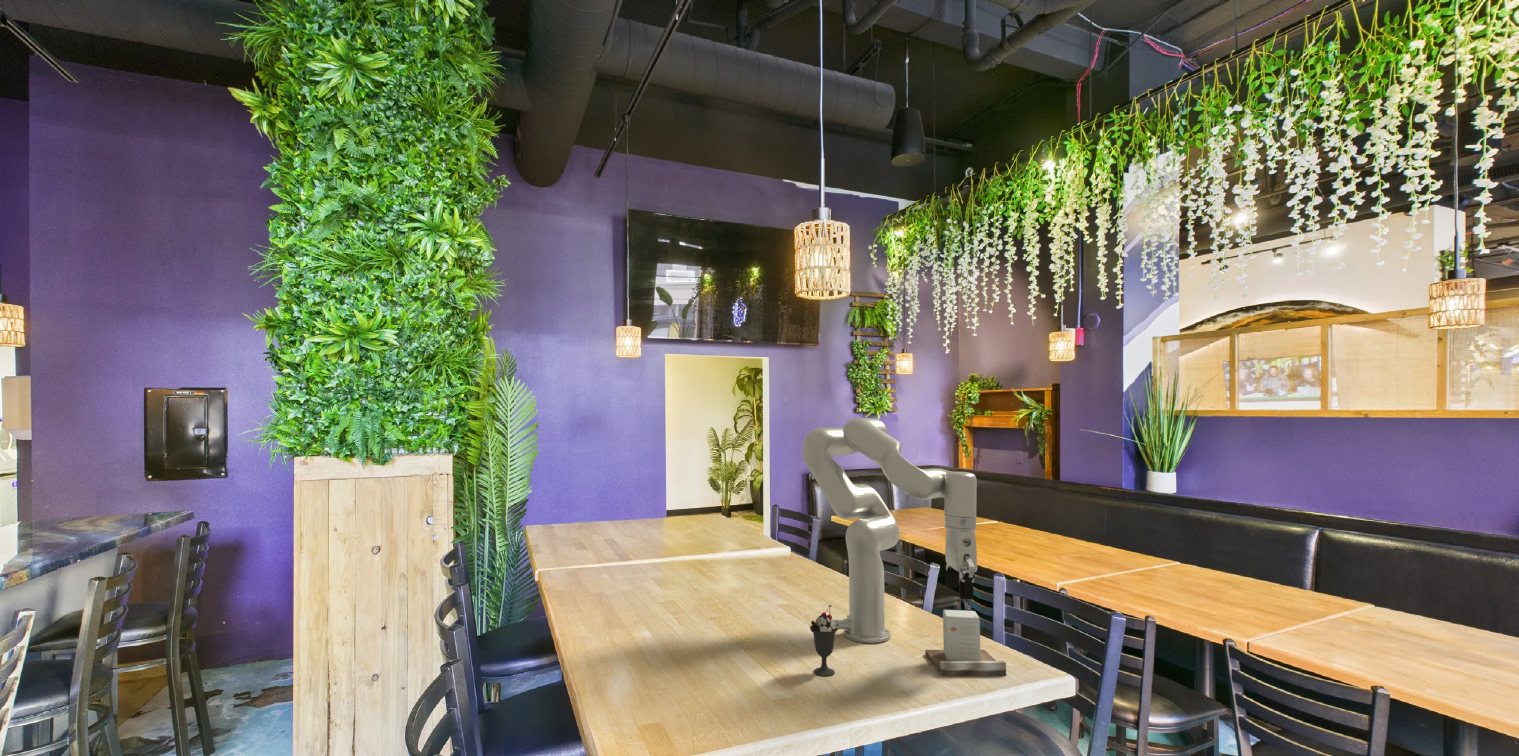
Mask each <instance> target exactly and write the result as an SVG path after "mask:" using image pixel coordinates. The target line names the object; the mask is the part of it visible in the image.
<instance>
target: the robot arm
mask: <svg viewBox="0 0 1519 756" xmlns="http://www.w3.org/2000/svg"><path fill="white" fill-rule="evenodd" d="M888 433H889V432H888V428H887V426H886V425H885V423H883V422H882V421H881V420H879V419H877V418H873V417H856V418H852V419H850V420H849V421H847V422H846V423H845V424H844V427H831V426H830V427H818V428H815V429H812V430H811V431H809V432H808V433H807V434H806V435H805V438H804V440H803V443H802V456H803V461H804V463H805V465H806V466H805V467H807V469H808V472H810V474H811V476H812V477H813V478H814V479H815V481H816V483H817V485H818V486H819V488H820V490H821V491H822V493H823V495H824V496H825V499H826V500H827V502H828V503H829V505H830V507H831V508H832V510H833V512H834V513H835V514H836V516H837V517H838V518H840V519H841V520H852V519H856V520H854V521H853V522H851V523H850V524H849V526H848V527H847V529H846V532H845V545H846V549H847V556H848V577H849V578H848V582H849V583H848V589H849V590H848V591H849V592H848V595H849V596H848V597H849V598H848V599H849V600H848V601H849V602H848V603H849V604H848V605H849V607H848V610H849V611H848V612H849V613H848V614H849V615H846V618H843V619H832V620H833V621H834V623H835V625H836V627H837V628H838V630H843V635H844V636H845V638H847V639H848V640H851V641H854V642H857V643H863V644H865V643H866V644H876V643H877V644H878V643H883V642H884V643H885V642H887V641H889V640H890V639H891V631H890V630H889V629H887V628H886V627H885V568H884V562H883V560H882V557H881V553H880V552H881V551H886V550H889V549H891V548H893V547H895V546H896V545H897V543H898V542H899V540H900V535H901V533H900V527H899V525H898V522H897V520H896V519H895V517H894V515H893V514H892V513H891V511H890V510H889V508H888V507H887V506H888V505H886V503H885V502H884V500H883V499H882V497H881V495H880V494H879V493H878V491H877V490H876V489H875V488H873V487H872V486H870V485H868V484H865V483H859V484H855V483H853V482H852V481H851V479H850V478H849V476H848V475H847V473H846V471H845V470H844V468H843V467H842V466H841V465H840V464H839V463H838V462H836V461H835V460H834V458H833V457H838V456H839V457H840V456H841V457H842V456H848V455H854V454H857V453H860V454H861V455H863V456H864V457H866V458H868V459H869V460H870V461H872V462H873V463H874V464H875V465H877V466H878V467H880V469H881V470H882V473H883V474H884V476H885V477H886V478H887V480H888V481H889V482H890V483H891V484H892V485H894V486H895V487H896V488H898V489H899V490H900V491H902V492H904V494H906V495H907V496H909V497H911V498H913V499H914V500H915V499H916V500H920V501H924V500H931V499H939V498H944V511H943V512H944V518H943V519H944V520H943V523H944V524H943V527H944V528H945V529H946V534H945V549H944V550H945V552H944V553H945V554H944V555H945V557H944V558H945V562H946V565H945V587H946V588H959V589H958V590H959V595H958V597H959V599H960V600H973V599H974V583H975V573H976V572H977V570H978V556H977V553H978V551H977V538H976V537H977V536H976V531H977V493H978V492H977V487H978V486H977V481H978V480H977V477H976V474H974V473H972V472H967V471H951V470H948V469H944V468H939V467H938V468H936V467H935V468H922V469H921V468H920V467H918V466H916V465H915V464H913V463H911V462H910V461H909V460H907V459H906V458H905V457H904V456H903V455H902V454H901V453H902V445H901V442H900V441H899V440H897V439H895V437H893V436H891V435H889V434H888ZM858 518H859V519H858Z"/></svg>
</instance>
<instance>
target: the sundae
mask: <svg viewBox="0 0 1519 756" xmlns="http://www.w3.org/2000/svg"><path fill="white" fill-rule="evenodd" d="M831 607H832V604H829V605H828V608H827V609H826V610H825V611H823V612H822V613H821V614H820V615H818V617H816V619H815V621H814V619H813V620H811V621H810V622H811V625H809V629H810V631H811V632H812V634H813V643H814V648H815V652H816V654H817V655H818V656H820V658H821V664H820V667H816V668H815V669H814V670H813V674H814V675H816V676H820V677H831V676H833V675H835V673H836V672H835V670H834V669H833V668H830V667H828V664H827V661H828V660H827V659H828V657H830V655H832V653H833V651H834V646H835V645H834V644H835V640H836V639H835V638H836V632H838V630H839V629H838V627H836V625H835V623H834V621H833V620H834V619H833V615H832V614H831ZM828 611H829V613H828V615H827V612H828Z"/></svg>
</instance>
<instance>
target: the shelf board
mask: <svg viewBox="0 0 1519 756" xmlns="http://www.w3.org/2000/svg"><path fill="white" fill-rule="evenodd" d="M924 652H925V653H924V654H925V656H926V657H927V658H928V660H929V661H930V662H931V664H932V665H933V666H934V668H935V669H936V670H937V671H938V673H939V674H940V675H941V676H1007V663H1006V661H1005V660H996V659H995V658H994V656H992V655H991V654H990V653H989V652H988V651H986V649H980V652H981V661H952V660H947V658H946V656H945V653H944V649H925V651H924Z"/></svg>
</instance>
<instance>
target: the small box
mask: <svg viewBox="0 0 1519 756" xmlns="http://www.w3.org/2000/svg"><path fill="white" fill-rule="evenodd" d="M980 620H981V619H980V617H979V615H978V614H977V612H976V611H975V610H958V609H957V610H956V609H943V610H942V622H943V623H942V628H943V631H942V632H943V640H942V641H943V650H944V653H945V656H946V658H947V660H952V661H981V652H980V650H981V623H980V622H981V621H980Z"/></svg>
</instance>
